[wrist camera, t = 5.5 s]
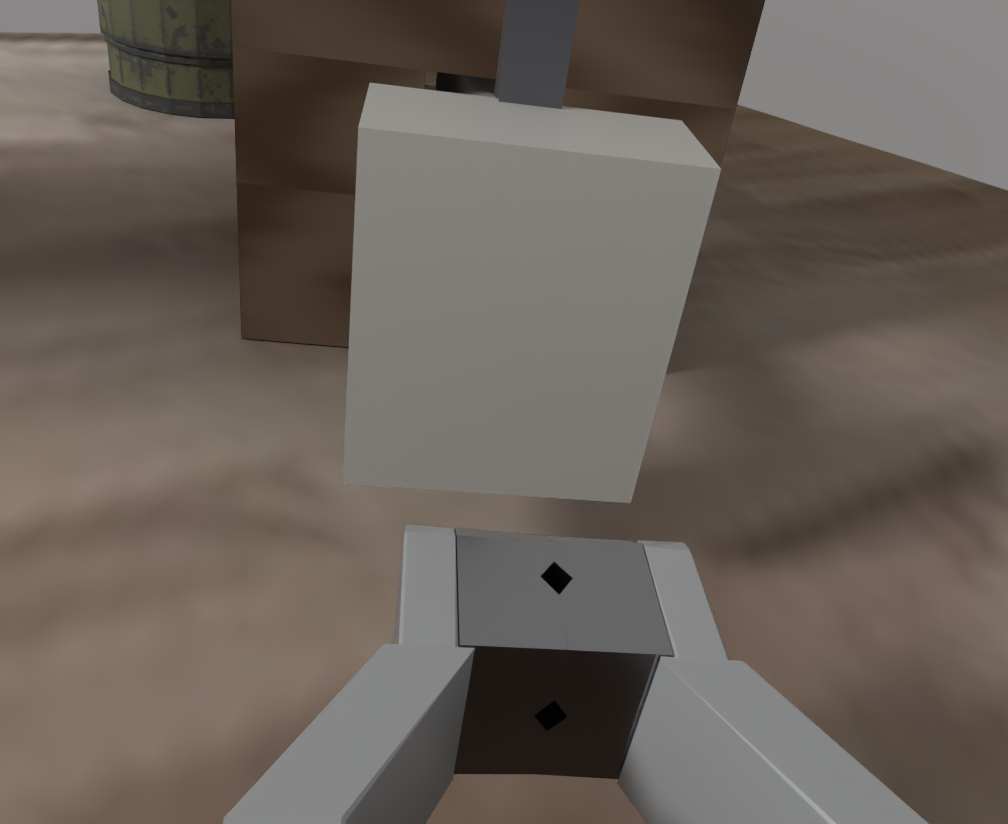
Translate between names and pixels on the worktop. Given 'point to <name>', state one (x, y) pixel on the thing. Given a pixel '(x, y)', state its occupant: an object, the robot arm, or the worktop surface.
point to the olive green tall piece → (171, 55)
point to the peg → (515, 277)
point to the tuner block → (402, 62)
